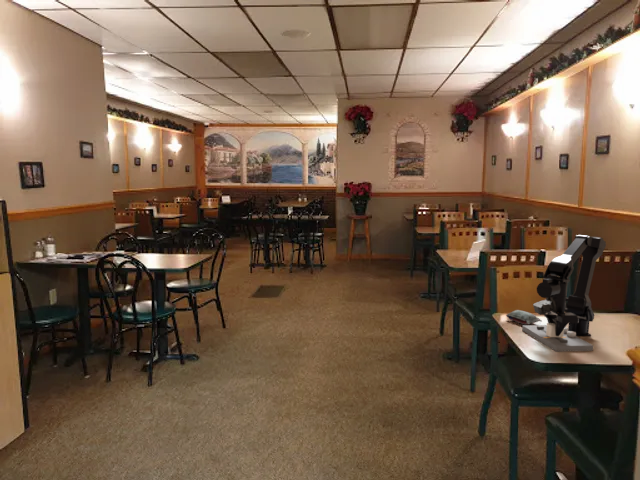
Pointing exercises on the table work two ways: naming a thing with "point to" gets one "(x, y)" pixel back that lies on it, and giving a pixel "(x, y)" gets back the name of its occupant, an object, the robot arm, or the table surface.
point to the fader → (552, 330)
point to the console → (558, 339)
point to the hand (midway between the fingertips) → (554, 334)
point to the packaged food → (523, 317)
